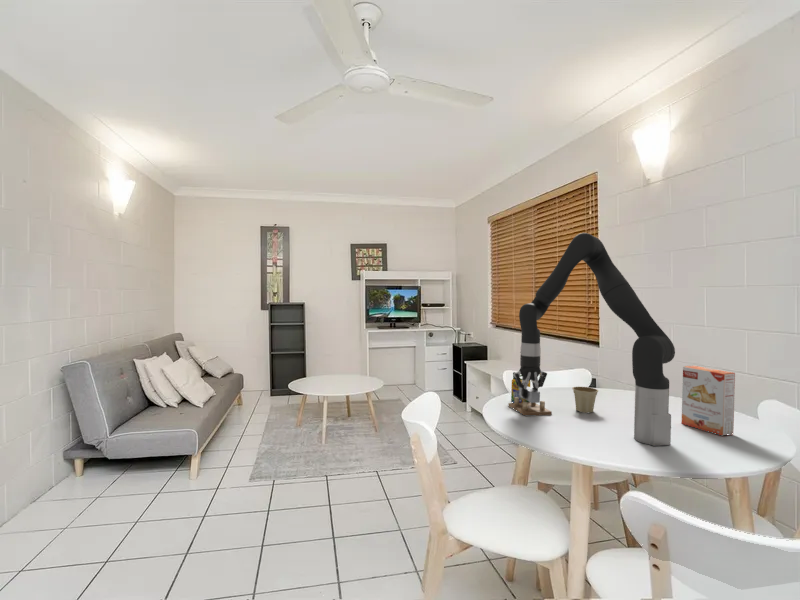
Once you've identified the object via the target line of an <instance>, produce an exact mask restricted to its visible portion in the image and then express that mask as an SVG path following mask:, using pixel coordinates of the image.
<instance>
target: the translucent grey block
mask: <svg viewBox="0 0 800 600" xmlns="http://www.w3.org/2000/svg"><path fill="white" fill-rule="evenodd" d="M532 388H533V387H531V386H530V387H528V386H527V388H526V389H527V398H523V396H522V395H521V394H522V388H520V387H519V396H520V397H522V398H523V399H525V400H527V401H529V402H531V403H536V404H538V403H539V404H540V401H541V399H540V397H541V392H540V391H539V390H538V391H537V390H534V389H532Z"/></svg>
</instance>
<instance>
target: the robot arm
mask: <svg viewBox="0 0 800 600" xmlns="http://www.w3.org/2000/svg"><path fill="white" fill-rule="evenodd" d="M581 261H583V262H584V263H585V264H586V265H587V266H588V267H589V269H590V270H591V271H592V273H593V274H594V277H595V279H596V281H597V282H596V283H597V286H598V290H599V292H600V294H601V296H602V299H603V300H604V301H605V303H606V305H607V306H608V308H609V309H610V310H611V312H613V313H614V314H615V315H616V316H617V317H618V318H620V319H621V321H623V322H624V323H625V324H627V325H628V326H629V327H630V328H631V329H632V331H634V333H635V334H636V336H637V338H636V340H635V341H634V342H633V345H632V352H631V353H632V354H631V357H632V358H631V359H632V365H631V366H632V375H633V378H634V382H635V383H634V388H635V389H634V420H633V422H634V427H633V428H634V429H633V439H634V440H635V441H637V442H639V443H641V444H644V445H645V444H646V445H651V446H653V447H656V446H657V447H659V446H670V445H671V442H672V441H671V439H672V438H671V436H672V414H671V413H670V412H669V411H670V409H669V407H670V405H669V404H670V379H669V378H668V377H666V376H665V375H664V366H663V365H664V364H667V363H670V362H672V361H673V359H674V357H675V355H676V349H675V345H674V343H673V341H672V340H671V338H669V336H668V335H667V334H666V332H664V331H663V329H662V328H661V327H660V326H659V325H658V323H657V322H656V321H655V320H654V319H653V317H652V316H651V314H650V313H649V311H648V309H647V308H646V307H645V305H644V304H643V302H642V301H641V300H640V298H639V297H638V295H637V294H636V292H635V290H634V289H633V287H632V285H631V284H630V283H629V282H628V280H627V279H626V278H625V276H624V275H623V274H622V272H621V271H620V270H619V269H618V267H616V265H615V264H614V263H613V261H612V259H611V257H610V255H609V253H608V252H607V249H606V246H604V244H603V242H602V241H601V240H600V239H599V238H598V237H597V236H594V235H592V234H590V233H587V232H582V233H578V234H576V236H574V237H573V238H572V240H571V241H570V242H569V244H568V246H567V248H566V249H565V251H564V253H563V254H562V256H561V257H560V259H559V261H558V263H557V264H556V266H555V267H554V269H553V270H552V272H551V273H550V275H549V276H547V278H546V279H545V281H544V282H543V283H542V284H541V285H540V287H539V288H538V289H537V291H536V292H535V297H534V298H533V300H532V301H531V302H530V303H524V304H523V305H522V306H521V307H520V309H519V313H518V317H519V324H520V329H521V336H520V337H521V340H520V341H521V343H520V352H519V353H520V356H519V357H520V368H519V371H516V372H515V371H513V373H512V376H514V378H515V381H516V384H517V386H518V387H520V388H522V394H521V395H522V396H523V398H527V389H526V388H527V384H528V383H529V380H530V382H531V383H532V384H531V385H532V387H531V388H532V389H534V390H537V391H539V388H542V387H543V386H544V384H545V381H546V378H547V376H548V373H547V372H545V371H543V370H541V331H540V329H539V328H538V321H539V320H541V318H542V317H543V316H544V315H545V314H546V312H547V310H548V309H549V308H550V306H551V304H552V303H553V302H554V301H555V300H556V299H557V297H558V296H560V295H561V294H560V293H561V292H562V291H563V290H564V288H565V286H566V284H567V282H568V279H569V278H570V275H571V273H572V272H573V270H574V269H575V267H577V265H578V264H579V263H580V262H581ZM520 375H522V376H521V377H522V378H521V377H520ZM520 378H521V379H522V383H521V380H520Z"/></svg>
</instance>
